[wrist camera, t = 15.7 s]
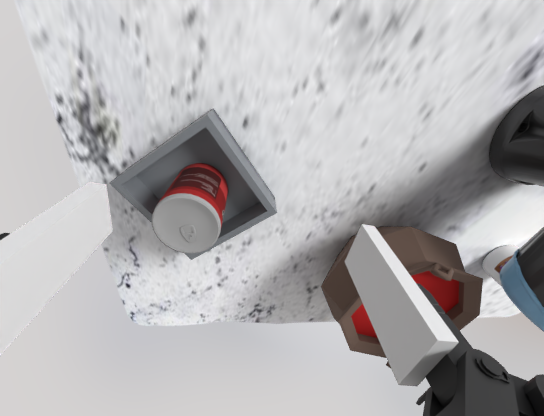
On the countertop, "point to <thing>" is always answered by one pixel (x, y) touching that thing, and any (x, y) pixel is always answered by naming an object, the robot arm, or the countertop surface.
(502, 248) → the milk bottle
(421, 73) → the countertop surface
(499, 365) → the robot arm
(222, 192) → the canned food
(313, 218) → the countertop surface
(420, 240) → the brown cooking pot
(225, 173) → the bin
